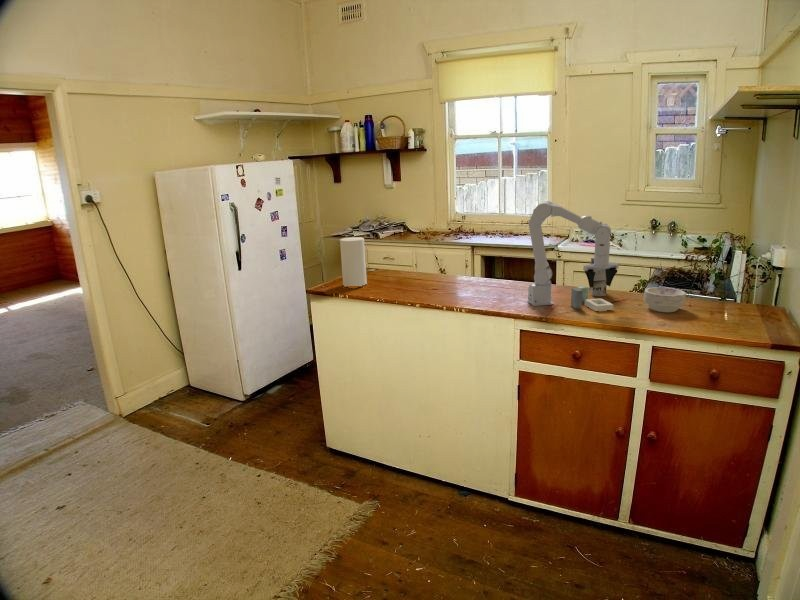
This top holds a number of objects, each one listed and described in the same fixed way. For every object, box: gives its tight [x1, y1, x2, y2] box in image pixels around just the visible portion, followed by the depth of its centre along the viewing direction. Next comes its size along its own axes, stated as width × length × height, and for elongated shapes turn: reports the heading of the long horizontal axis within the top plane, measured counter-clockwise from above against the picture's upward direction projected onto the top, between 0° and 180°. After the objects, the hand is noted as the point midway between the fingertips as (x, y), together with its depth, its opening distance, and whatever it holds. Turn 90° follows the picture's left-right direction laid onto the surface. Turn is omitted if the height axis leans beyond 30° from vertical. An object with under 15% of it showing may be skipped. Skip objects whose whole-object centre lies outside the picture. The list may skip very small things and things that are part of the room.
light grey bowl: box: [643, 286, 687, 313], centre depth 215 cm, size 15×15×8 cm
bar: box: [570, 287, 583, 310], centre depth 223 cm, size 2×5×8 cm, turn 7°
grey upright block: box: [576, 285, 589, 303], centre depth 232 cm, size 4×4×6 cm
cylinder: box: [339, 236, 368, 286], centre depth 274 cm, size 12×12×25 cm
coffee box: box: [588, 257, 608, 297], centre depth 241 cm, size 9×6×16 cm
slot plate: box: [584, 297, 614, 312], centre depth 222 cm, size 8×10×2 cm
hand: (599, 286), depth 219 cm, fingers open, 7 cm apart
